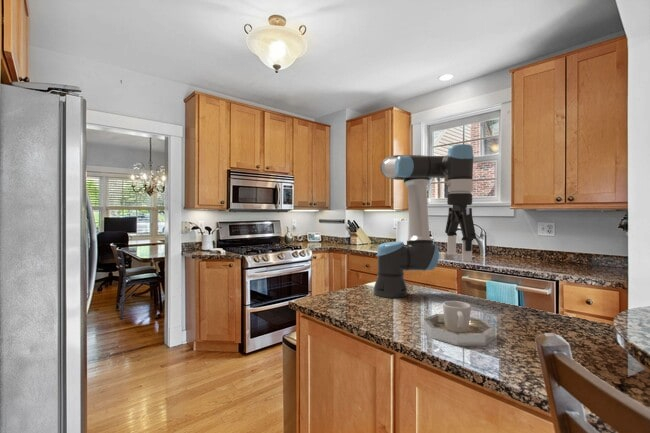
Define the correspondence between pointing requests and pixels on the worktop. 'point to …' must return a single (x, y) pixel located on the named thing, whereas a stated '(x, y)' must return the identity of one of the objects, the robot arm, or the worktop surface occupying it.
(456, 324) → the cup
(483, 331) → the octagonal tray
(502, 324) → the worktop surface
